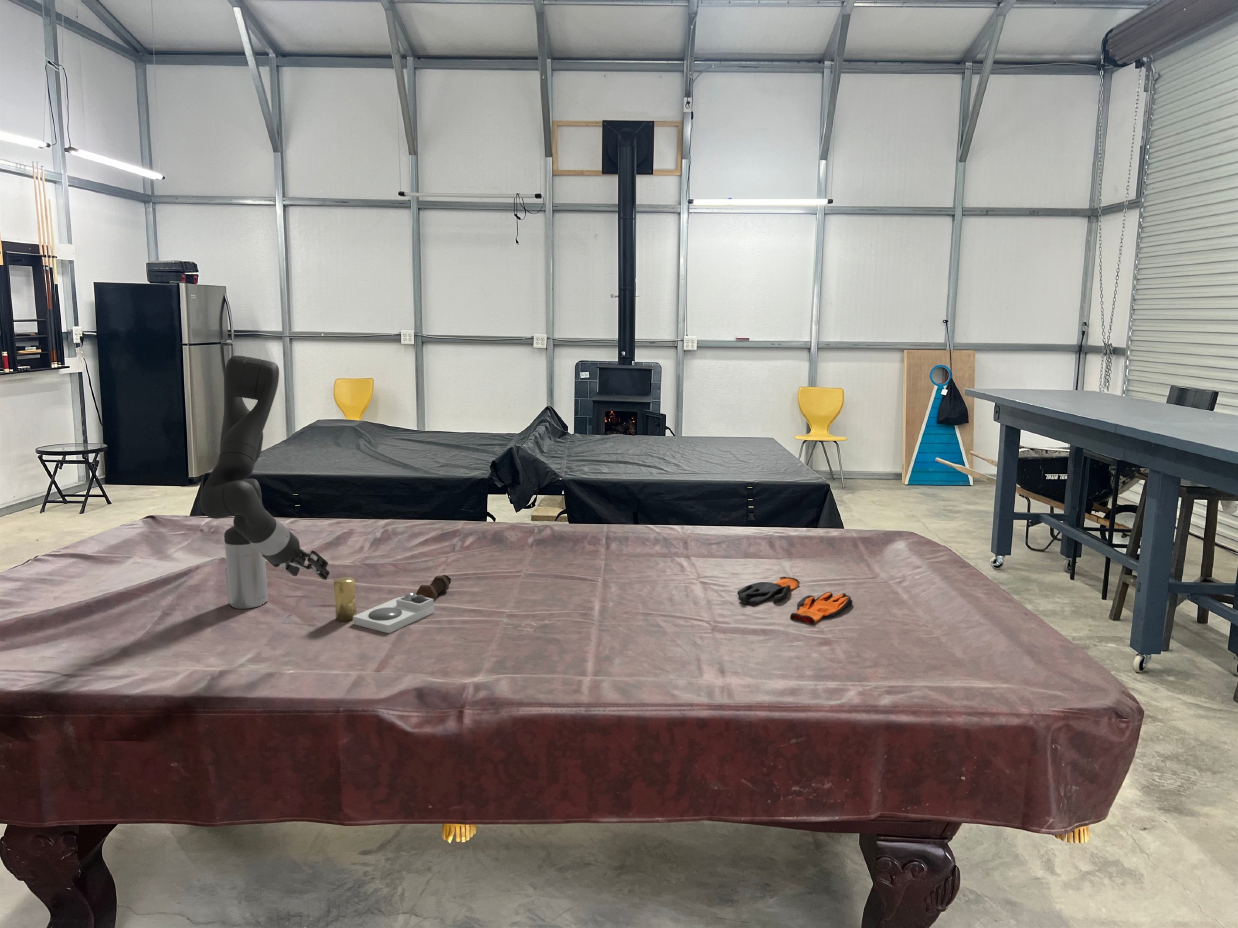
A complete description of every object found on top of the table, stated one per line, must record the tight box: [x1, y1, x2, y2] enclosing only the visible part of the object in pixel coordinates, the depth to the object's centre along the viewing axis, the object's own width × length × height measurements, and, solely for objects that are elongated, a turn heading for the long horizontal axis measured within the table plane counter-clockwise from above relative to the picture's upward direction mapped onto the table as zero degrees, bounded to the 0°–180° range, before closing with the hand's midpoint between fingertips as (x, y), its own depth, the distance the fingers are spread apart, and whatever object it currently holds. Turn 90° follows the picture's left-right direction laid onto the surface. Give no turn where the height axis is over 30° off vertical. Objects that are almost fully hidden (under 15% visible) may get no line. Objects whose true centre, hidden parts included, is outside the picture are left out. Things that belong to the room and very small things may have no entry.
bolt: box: [415, 574, 452, 602], centre depth 227 cm, size 6×5×15 cm
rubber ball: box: [414, 595, 426, 604], centre depth 212 cm, size 3×3×3 cm
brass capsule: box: [333, 576, 358, 623], centre depth 209 cm, size 5×5×10 cm
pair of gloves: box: [737, 576, 853, 625], centre depth 223 cm, size 27×24×3 cm
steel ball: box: [404, 592, 416, 602], centre depth 214 cm, size 3×3×3 cm
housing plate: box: [352, 594, 435, 634], centre depth 210 cm, size 12×16×4 cm
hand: (311, 574), depth 196 cm, fingers open, 8 cm apart
